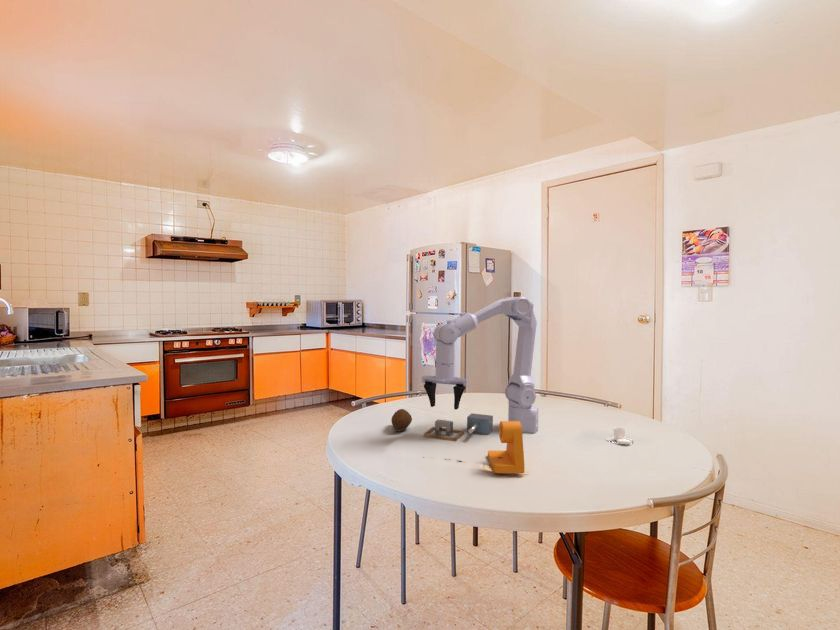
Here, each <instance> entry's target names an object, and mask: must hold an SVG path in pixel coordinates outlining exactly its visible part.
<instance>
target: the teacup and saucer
mask: <svg viewBox="0 0 840 630" xmlns="http://www.w3.org/2000/svg"><path fill="white" fill-rule="evenodd" d="M625 431H626V429H625V428H623V427H613V436H614V438H613V440H614V441H615V440H616V442H615V443H616V444H617V445H621V444H625V445H626V446H629V445H628V444H630V441H629V440H626V439H624V438H625V434H626V433H625ZM610 441H611V440H610ZM610 441H609V443H611V442H610ZM614 441H612V443H611V444H615V443H614ZM618 443H619V444H618ZM616 444H615V445H616ZM625 445H624V446H625ZM630 445H633V444H632V443H631V444H630Z"/></svg>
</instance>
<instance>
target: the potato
mask: <svg viewBox="0 0 840 630" xmlns="http://www.w3.org/2000/svg"><path fill="white" fill-rule="evenodd" d="M412 421H413V418H412V415H411V414H410V412H408V411H407V410H406V409H403V408H399V409H398V410H397V411H395V412H394V413H393V415H392V417H391V425H392V427H393V428H394V429H395V430H396V431H397V432H401V431H405V430H406V429H408V427H409V426H410V424H411V423H412Z"/></svg>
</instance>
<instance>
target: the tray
mask: <svg viewBox="0 0 840 630" xmlns="http://www.w3.org/2000/svg"><path fill="white" fill-rule="evenodd" d="M432 432H435V426H432V427H431V428H430V429H428V430H426V431H425V432H423V434H422V437H423V438H431V439H437V440H445V441H451V442H452V441H453V442H457V441H458V440H459V439H460V438H461V437H462V436H463V435H465V430H464V429H463V430H461V429H454V428H453V434H457V435H455V436H454V437H453V436H451V437H448V436H446V435H442V434H441V435H435V434H432ZM442 432H444V433H446V427H442Z"/></svg>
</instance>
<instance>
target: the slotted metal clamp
mask: <svg viewBox="0 0 840 630" xmlns="http://www.w3.org/2000/svg"><path fill="white" fill-rule="evenodd" d="M434 427H435V430H434V435H441V436H442V434H443V431H442V428H446V432H445V436H448V437H453V435H454V433H453V429H454V421H453V420H444V419H436V420H435V421H434Z"/></svg>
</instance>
